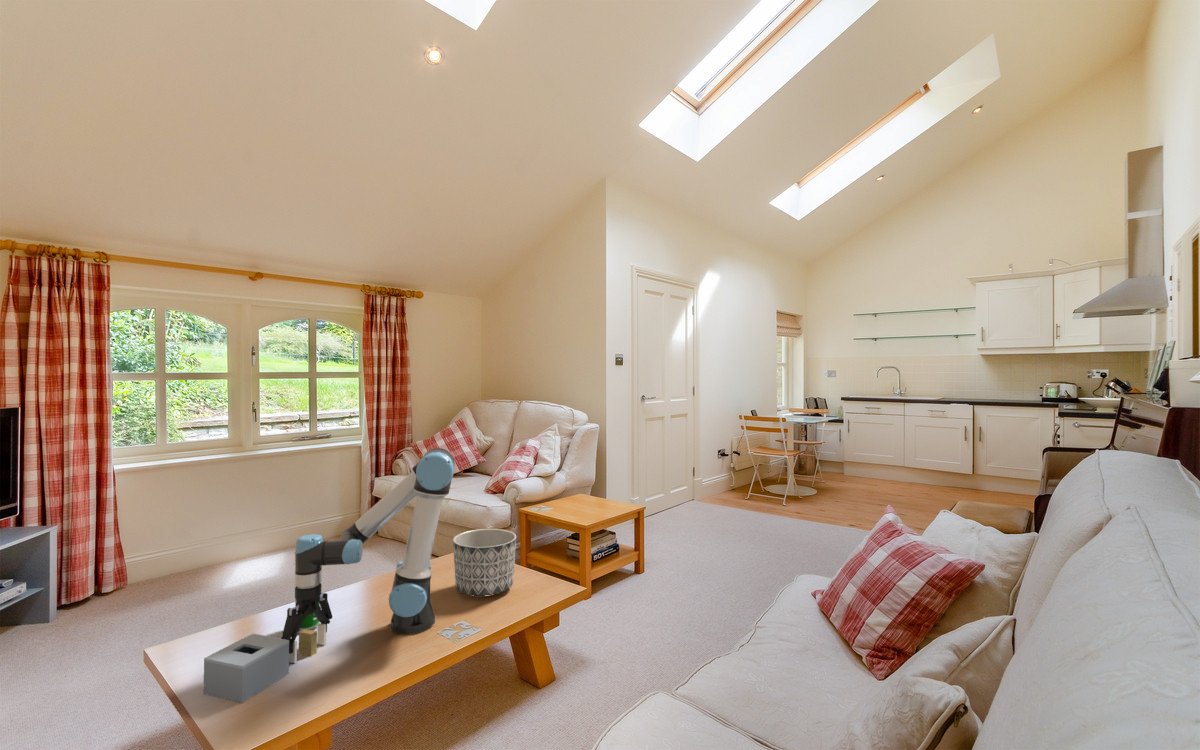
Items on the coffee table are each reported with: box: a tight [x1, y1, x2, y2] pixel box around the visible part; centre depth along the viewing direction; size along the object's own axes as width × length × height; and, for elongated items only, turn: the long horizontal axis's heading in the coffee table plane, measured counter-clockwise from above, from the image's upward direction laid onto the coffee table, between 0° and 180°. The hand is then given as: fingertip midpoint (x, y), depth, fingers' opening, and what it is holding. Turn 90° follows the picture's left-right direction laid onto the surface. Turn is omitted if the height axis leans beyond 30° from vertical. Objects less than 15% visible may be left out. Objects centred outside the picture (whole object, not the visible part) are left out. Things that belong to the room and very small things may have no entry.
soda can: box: [294, 598, 321, 633], centre depth 187 cm, size 8×8×12 cm
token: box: [298, 629, 318, 657], centre depth 170 cm, size 5×2×7 cm, turn 74°
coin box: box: [203, 633, 290, 704], centre depth 153 cm, size 14×15×10 cm
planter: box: [452, 528, 517, 597], centre depth 222 cm, size 26×26×22 cm
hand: (307, 652), depth 170 cm, fingers open, 11 cm apart
